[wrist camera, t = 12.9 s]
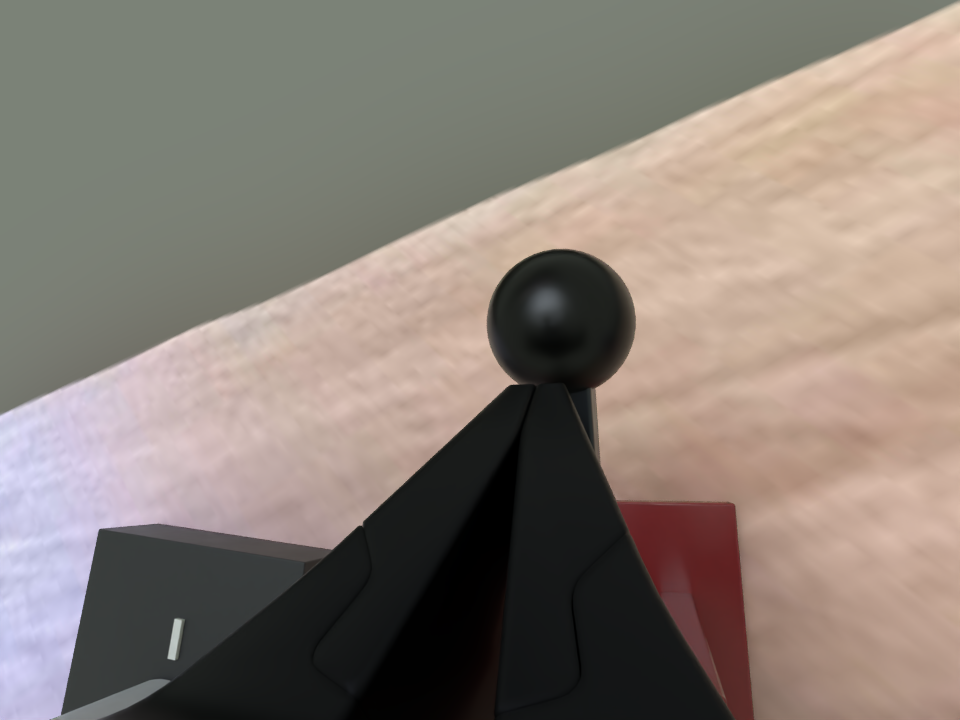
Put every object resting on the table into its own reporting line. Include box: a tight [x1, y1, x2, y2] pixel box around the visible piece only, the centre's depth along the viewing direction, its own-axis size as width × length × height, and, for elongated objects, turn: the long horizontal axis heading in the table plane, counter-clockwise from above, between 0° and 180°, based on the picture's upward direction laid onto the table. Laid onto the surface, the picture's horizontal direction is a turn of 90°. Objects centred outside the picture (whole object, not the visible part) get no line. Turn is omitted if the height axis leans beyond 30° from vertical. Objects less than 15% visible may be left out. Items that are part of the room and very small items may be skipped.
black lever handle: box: [487, 249, 636, 463], centre depth 11 cm, size 12×3×3 cm, turn 0°
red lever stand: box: [616, 500, 754, 720], centre depth 14 cm, size 10×8×10 cm
